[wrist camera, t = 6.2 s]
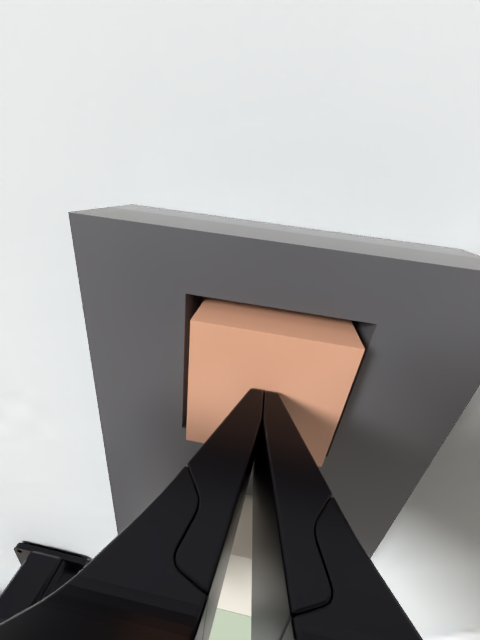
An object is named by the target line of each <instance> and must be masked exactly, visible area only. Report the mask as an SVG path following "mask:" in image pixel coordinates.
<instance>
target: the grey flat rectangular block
mask: <svg viewBox="0 0 480 640" xmlns="http://www.w3.org/2000/svg"><path fill="white" fill-rule="evenodd" d="M68 213H69V219H70V226H71V232H72V239H73V246H74V252H75V259H76V265H77V272H78V278H79V285H80V291H81V298H82V304H83V311H84V317H85V324H86V330H87V337H88V343H89V350H90V356H91V363H92V369H93V376H94V382H95V389H96V395H97V402H98V408H99V415H100V421H101V428H102V434H103V441H104V447H105V454H106V460H107V467H108V473H109V480H110V486H111V493H112V499H113V506H114V512H115V519H116V525H117V532H118V535H119V534H120V533H121V532H122V531H123V530H124V529H125V528H126V527H127V526H128V525H129V524H130V523H131V522H133V521H134V520H135V519H136V518H137V517H138V516H139V515H140V514H141V513H142V512H143V511H144V510H145V509H146V508H147V507H148V506H149V505H150V504H151V503H152V502H153V501H154V500H155V499H156V498H157V497H158V496H159V495H160V494H161V493H162V492H163V491H164V489H165V488H166V487H167V486H168V485H169V484H170V483H171V482H172V481H173V479H174V478H175V477H176V476H177V475H178V474H179V472H180V471H181V470H182V469H183V468H184V467H185V466H187V463H188V462H189V461H190V460H191V458H192V457H193V456H194V455H195V454H196V452H197V451H198V450H199V449H200V448H201V446H202V445H203V444H204V443H200V442H195V441H190V440H186V426H187V398H188V370H189V342H190V320H191V318H192V317H193V315H194V314H195V313H196V311H197V310H198V308H199V307H200V305H201V304H202V303H203V301H204V300H205V298H206V297H210V298H216V299H222V300H229V301H235V302H241V303H247V304H254V305H260V306H266V307H272V308H279V309H285V310H291V311H297V312H304V313H310V314H316V315H322V316H329V317H335V318H341V319H347V320H351V322H352V324H353V326H354V328H355V330H356V332H357V334H358V336H359V338H360V340H361V342H362V344H363V346H364V348H365V351H364V354H363V356H362V359H361V362H360V364H359V367H358V370H357V372H356V375H355V378H354V381H353V383H352V386H351V389H350V391H349V394H348V397H347V400H346V402H345V405H344V408H343V410H342V413H341V416H340V418H339V421H338V424H337V427H336V429H335V432H334V435H333V437H332V440H331V443H330V446H329V448H328V451H327V454H326V456H325V459H324V462H323V464H322V467H319V466H318V468H319V470H320V472H321V473H322V475H323V477H324V479H325V481H326V483H327V485H328V487H329V488H330V490H331V492H332V494H333V496H332V497H334V498H335V499H336V501H337V503H338V505H339V507H340V509H341V511H342V512H343V514H344V516H345V518H346V520H347V521H348V523H349V525H350V527H351V528H352V530H353V532H354V534H355V535H356V537H357V539H358V540H359V542H360V544H361V545H362V547H363V548H364V550H365V552H366V553H367V555H368V556H369V558H371V557H372V555H373V553H374V552H375V550H376V549H377V547H378V545H379V544H380V542H381V541H382V539H383V538H384V536H385V534H386V533H387V531H388V530H389V528H390V526H391V525H392V523H393V522H394V520H395V518H396V517H397V515H398V514H399V512H400V511H401V509H402V507H403V506H404V504H405V503H406V501H407V499H408V498H409V496H410V495H411V493H412V491H413V490H414V488H415V487H416V485H417V483H418V482H419V480H420V479H421V477H422V476H423V474H424V472H425V471H426V469H427V468H428V466H429V464H430V463H431V461H432V460H433V458H434V456H435V455H436V453H437V452H438V450H439V449H440V447H441V445H442V444H443V442H444V441H445V439H446V437H447V436H448V434H449V433H450V431H451V429H452V428H453V426H454V425H455V423H456V422H457V420H458V418H459V417H460V415H461V414H462V412H463V410H464V409H465V407H466V406H467V404H468V402H469V401H470V399H471V398H472V396H473V394H474V393H475V391H476V390H477V388H478V387H479V385H480V256H478V255H476V254H473V253H470V252H467V251H464V250H462V249H455V248H447V247H440V246H433V245H425V244H418V243H411V242H403V241H396V240H389V239H381V238H374V237H367V236H359V235H352V234H345V233H337V232H330V231H323V230H315V229H308V228H301V227H293V226H286V225H279V224H271V223H264V222H257V221H249V220H242V219H235V218H227V217H220V216H213V215H205V214H198V213H191V212H183V211H176V210H169V209H161V208H154V207H147V206H139V205H124V206H116V207H107V208H99V209H91V210H83V211H75V212H68ZM253 464H254V462H253ZM246 494H248V495H253V467H252V472H251V476H250V480H249V484H248V488H247V492H246Z"/></svg>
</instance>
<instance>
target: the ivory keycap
mask: <svg viewBox="0 0 480 640" xmlns="http://www.w3.org/2000/svg"><path fill="white" fill-rule="evenodd" d="M252 507H253V495H248V494H246V496H245V500H244V504H243V508H242V511H241V515H240V519H239V523H238V527H237V531H236V535H235V539H234V543H233V547H232V551H231V554H230V558H229V562H228V566H227V570H226V574H225V578H224V582H223V586H222V590H221V594H220V597H219V601H218V605H217V608H219V609H223V610H227V611H231V612H235V613H239V614H243V615H247V616H251V598H252Z"/></svg>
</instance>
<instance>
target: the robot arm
mask: <svg viewBox="0 0 480 640" xmlns="http://www.w3.org/2000/svg"><path fill="white" fill-rule="evenodd" d="M253 462H254V464H253ZM252 467H253V507H252V598H251V640H423V639H422V638H421V636H420V635H419V633H418V631H417V630H416V628H415V627H414V625H413V624H412V622H411V621H410V619H409V618H408V616H407V615H406V613H405V612H404V610H403V609H402V607H401V606H400V604H399V602H398V601H397V599H396V598H395V596H394V595H393V593H392V592H391V590H390V589H389V587H388V586H387V584H386V583H385V581H384V580H383V578H382V577H381V575H380V573H379V572H378V570H377V569H376V567H375V566H374V564H373V563H372V561H371V559H370V558H369V556H368V555H367V553H366V552H365V550H364V548H363V547H362V545H361V544H360V542H359V540H358V539H357V537H356V535H355V534H354V532H353V530H352V528H351V527H350V525H349V523H348V521H347V520H346V518H345V516H344V514H343V512H342V511H341V509H340V507H339V505H338V503H337V501H336V499H335V498H334V497H332V496H333V494H332V492H331V490H330V488H329V487H328V485H327V483H326V481H325V479H324V477H323V475H322V473H321V472H320V470H319V468H318V466H317V464H316V462H315V460H314V459H313V457H312V455H311V453H310V451H309V449H308V447H307V446H306V444H305V442H304V440H303V438H302V436H301V434H300V432H299V431H298V429H297V427H296V425H295V423H294V421H293V419H292V418H291V416H290V414H289V412H288V410H287V408H286V406H285V405H284V403H283V401H282V399H281V397H280V395H279V394H278V393H276V392H271V391H265V392H264V391H263V390H260V389H254V388H251V389H249V391H248V392H247V393H246V394H245V395H244V396H243V398H242V399H241V400H240V401H239V402H238V404H237V405H236V406H235V407H234V408H233V410H232V411H231V412H230V413H229V414H228V415H227V417H226V418H225V419H224V420H223V421H222V423H221V424H220V425H219V426H218V427H217V429H216V430H215V431H214V432H213V433H212V435H211V436H210V437H209V438H208V439H207V440H206V442H205V443H204V444H203V445H202V446H201V448H200V449H199V450H198V451H197V452H196V454H195V455H194V456H193V457H192V458H191V460H190V461H189V462H188V463H187V466H185V467H184V468H183V469H182V470H181V471H180V472H179V474H178V475H177V476H176V477H175V478H174V479H173V481H172V482H171V483H170V484H169V485H168V486H167V487H166V488H165V489H164V491H163V492H162V493H161V494H160V495H159V496H158V497H157V498H156V499H155V500H154V501H153V502H152V503H151V504H150V505H149V506H148V507H147V508H146V509H145V510H144V511H143V512H142V513H141V514H140V515H139V516H138V517H137V518H136V519H135V520H134V521H133V522H131V523H130V524H129V525H128V526H127V527H126V528H125V529H124V530H123V531H122V532H121V533H120V534H119V535H118V536H117V537H116V538H115V539H113V540H112V541H111V542H110V543H109V544H108V545H107V546H106V547H105V548H104V549H103V550H102V551H101V552H100V553H99V554H98V555H97V556H95V557H94V558H93V559H92V560H91V561H90V562H89V563H88V561H87V560H86V559H84V558H82V557H78V556H74V555H70V554H65V553H61V552H57V551H53V550H49V549H45V548H41V547H37V546H33V545H29V544H24V543H18V544H17V546H16V547H15V548H14V551H15V553H16V555H17V557H18V559H19V561H20V563H21V567H20V568H19V570H18V571H17V572H16V574H15V575H14V577H13V578H12V580H11V581H10V583H9V584H8V585H7V587H6V588H5V590H4V591H3V593H2V594H1V596H0V640H209V637H210V633H211V629H212V625H213V621H214V617H215V613H216V609H217V605H218V601H219V597H220V594H221V590H222V586H223V582H224V578H225V574H226V570H227V566H228V562H229V558H230V554H231V551H232V547H233V543H234V539H235V535H236V531H237V527H238V523H239V519H240V515H241V511H242V508H243V504H244V500H245V496H246V492H247V488H248V484H249V480H250V476H251V472H252Z"/></svg>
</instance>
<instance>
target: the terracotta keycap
mask: <svg viewBox="0 0 480 640" xmlns="http://www.w3.org/2000/svg"><path fill="white" fill-rule="evenodd" d="M364 351H365V348H364V346H363V344H362V342H361V340H360V338H359V336H358V334H357V332H356V330H355V328H354V326H353V324H352V322H351V320H347V319H341V318H335V317H329V316H322V315H316V314H310V313H304V312H297V311H291V310H285V309H279V308H272V307H266V306H260V305H254V304H247V303H241V302H235V301H229V300H222V299H216V298H210V297H206V298H205V300H204V301H203V303H202V304H201V305H200V307H199V308H198V310H197V311H196V313H195V314H194V315H193V317H192V318H191V320H190V342H189V370H188V398H187V426H186V440H190V441H195V442H200V443H205V442H206V440H207V439H208V438H209V437H210V436H211V435H212V433H213V432H214V431H215V430H216V429H217V427H218V426H219V425H220V424H221V423H222V421H223V420H224V419H225V418H226V417H227V415H228V414H229V413H230V412H231V411H232V410H233V408H234V407H235V406H236V405H237V404H238V402H239V401H240V400H241V399H242V398H243V396H244V395H245V394H246V393H247V392H248V391H249V389H251V388H254V389H260V390H263V391H264V392H265V391H271V392H276V393H278V394H279V395H280V397H281V399H282V401H283V403H284V405H285V406H286V408H287V410H288V412H289V414H290V416H291V418H292V419H293V421H294V423H295V425H296V427H297V429H298V431H299V432H300V434H301V436H302V438H303V440H304V442H305V444H306V446H307V447H308V449H309V451H310V453H311V455H312V457H313V459H314V460H315V462H316V464H317V466H319V467H322V464H323V462H324V459H325V456H326V454H327V451H328V448H329V446H330V443H331V440H332V437H333V435H334V432H335V429H336V427H337V424H338V421H339V418H340V416H341V413H342V410H343V408H344V405H345V402H346V400H347V397H348V394H349V391H350V389H351V386H352V383H353V381H354V378H355V375H356V372H357V370H358V367H359V364H360V362H361V359H362V356H363V354H364Z"/></svg>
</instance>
